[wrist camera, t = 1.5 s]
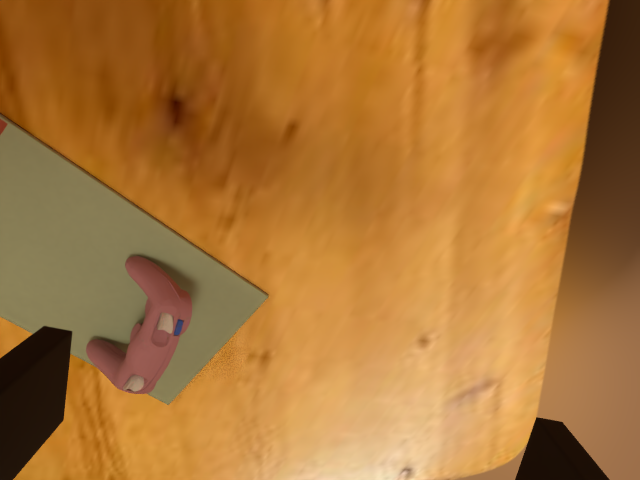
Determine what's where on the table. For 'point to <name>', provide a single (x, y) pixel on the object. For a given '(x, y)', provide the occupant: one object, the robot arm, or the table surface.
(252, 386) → the table surface
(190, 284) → the placemat
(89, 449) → the table surface
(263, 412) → the table surface
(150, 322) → the video game controller
